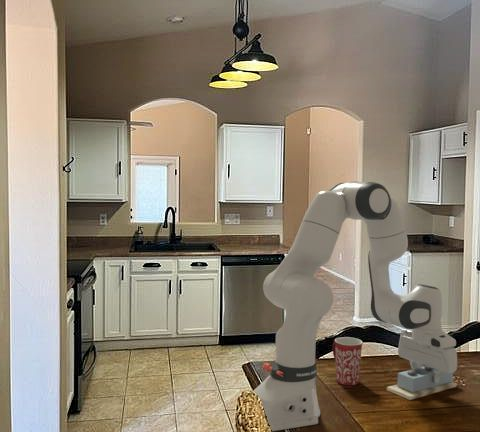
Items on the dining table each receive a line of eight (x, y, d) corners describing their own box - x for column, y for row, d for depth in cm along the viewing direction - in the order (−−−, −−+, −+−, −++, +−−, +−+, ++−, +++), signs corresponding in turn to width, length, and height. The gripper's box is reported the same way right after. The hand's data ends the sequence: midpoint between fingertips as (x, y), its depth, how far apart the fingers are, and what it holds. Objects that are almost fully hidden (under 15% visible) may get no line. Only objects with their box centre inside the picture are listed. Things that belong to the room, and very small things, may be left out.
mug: (367, 384, 163) (368, 343, 163) (343, 388, 160) (343, 345, 160) (346, 372, 175) (347, 333, 175) (323, 374, 172) (323, 335, 172)
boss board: (409, 400, 151) (410, 379, 151) (386, 390, 159) (387, 370, 158) (456, 386, 162) (457, 367, 162) (433, 377, 170) (433, 359, 170)
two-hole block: (412, 392, 154) (413, 378, 154) (397, 386, 159) (397, 372, 159) (452, 381, 164) (453, 368, 164) (437, 375, 169) (437, 363, 169)
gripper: (394, 329, 168) (393, 370, 168) (447, 344, 151) (446, 390, 151) (407, 327, 171) (406, 367, 172) (461, 342, 154) (459, 387, 154)
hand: (425, 378), depth 161 cm, fingers closed on two-hole block, 6 cm apart
